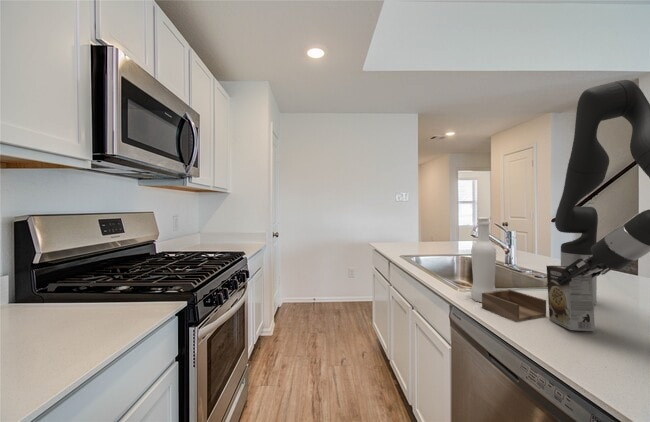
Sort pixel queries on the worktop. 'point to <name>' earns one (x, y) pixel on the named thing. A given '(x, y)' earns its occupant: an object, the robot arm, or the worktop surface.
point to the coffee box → (570, 300)
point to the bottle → (483, 262)
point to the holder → (514, 305)
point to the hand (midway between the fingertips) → (569, 281)
